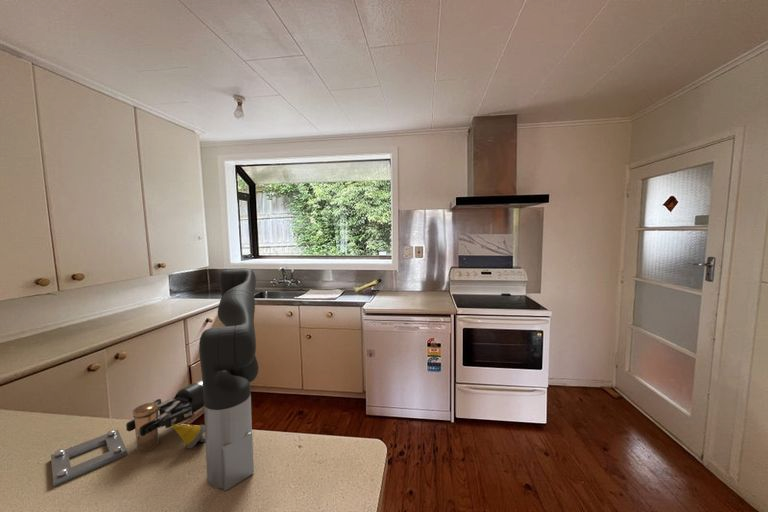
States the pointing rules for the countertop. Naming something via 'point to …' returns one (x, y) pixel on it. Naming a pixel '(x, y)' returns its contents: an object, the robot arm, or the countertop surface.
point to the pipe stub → (142, 417)
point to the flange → (66, 472)
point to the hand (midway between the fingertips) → (134, 429)
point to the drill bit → (190, 434)
